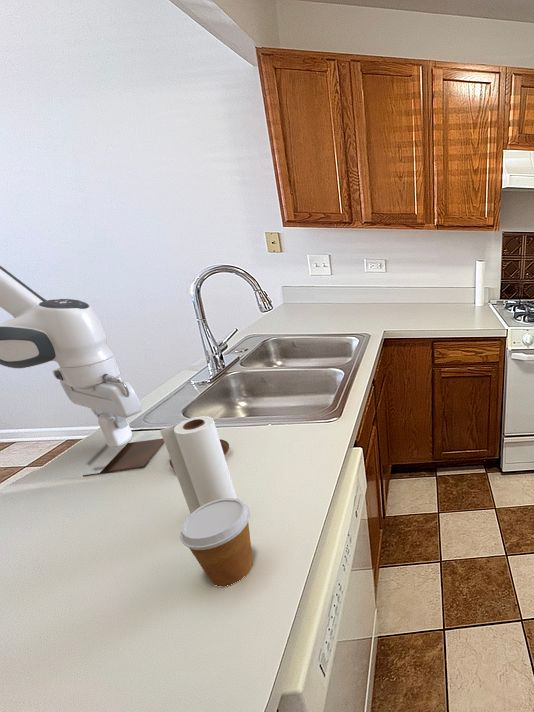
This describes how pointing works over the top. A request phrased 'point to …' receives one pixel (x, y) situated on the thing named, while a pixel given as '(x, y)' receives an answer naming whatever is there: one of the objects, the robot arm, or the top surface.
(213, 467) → the paper towel roll
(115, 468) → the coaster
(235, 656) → the top surface
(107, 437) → the eye dropper bottle
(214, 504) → the disposable coffee cup
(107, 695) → the top surface
